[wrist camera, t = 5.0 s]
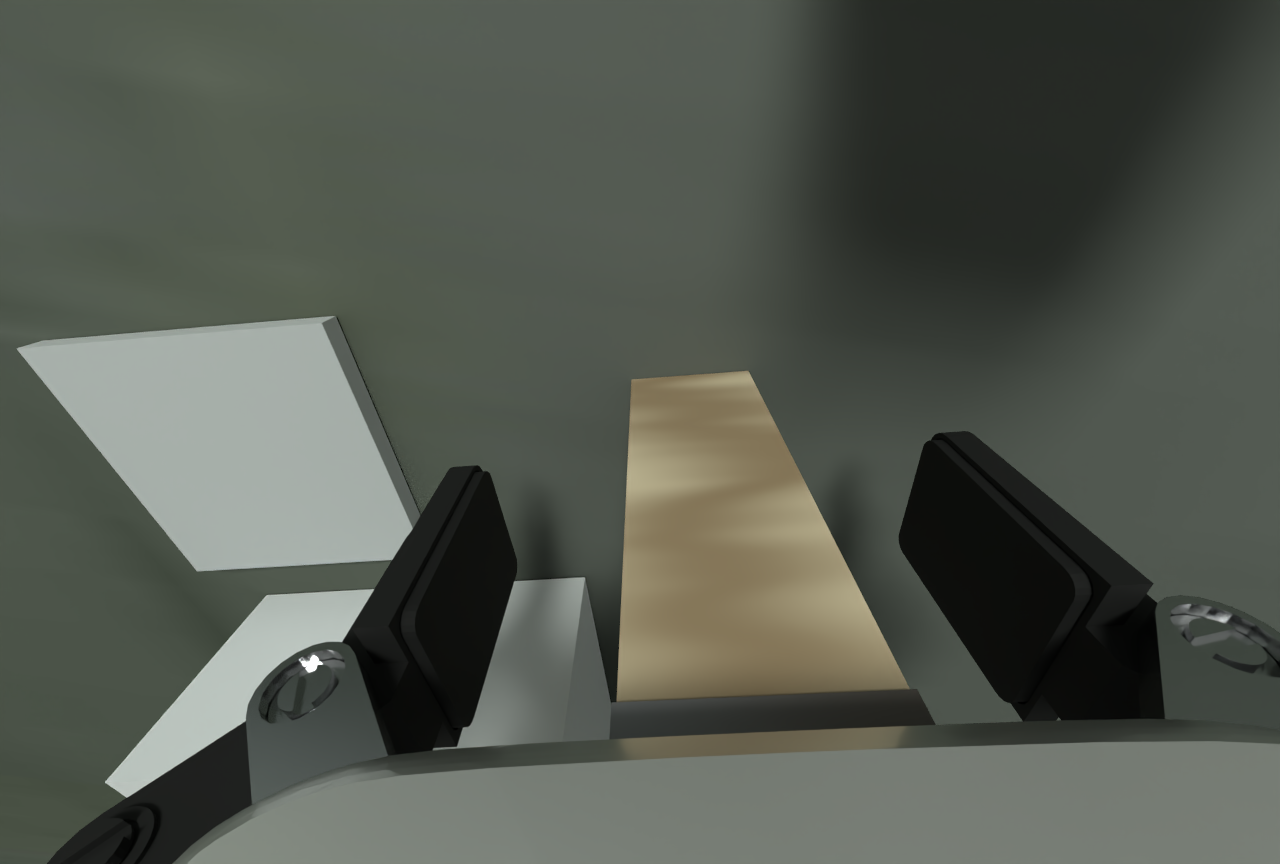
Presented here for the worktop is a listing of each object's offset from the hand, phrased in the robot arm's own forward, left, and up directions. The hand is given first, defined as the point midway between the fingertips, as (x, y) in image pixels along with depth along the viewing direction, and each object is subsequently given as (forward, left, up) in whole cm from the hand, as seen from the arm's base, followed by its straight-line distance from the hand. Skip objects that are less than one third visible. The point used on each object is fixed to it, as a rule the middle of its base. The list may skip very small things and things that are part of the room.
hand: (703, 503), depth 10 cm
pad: (+13, 0, -4) cm, 13 cm away
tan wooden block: (0, 0, -4) cm, 4 cm away
